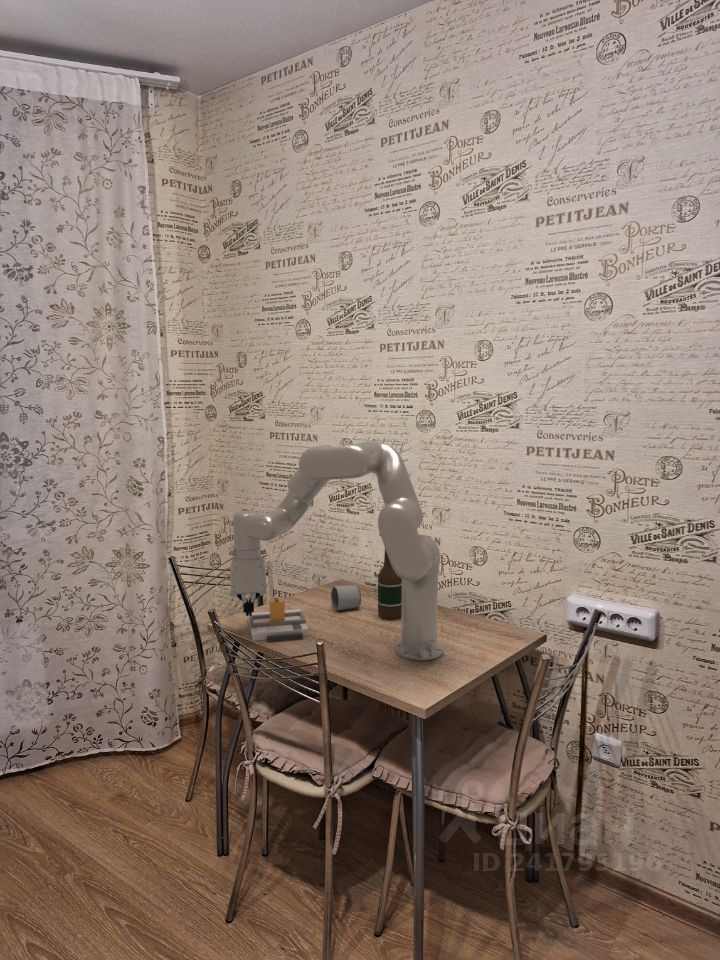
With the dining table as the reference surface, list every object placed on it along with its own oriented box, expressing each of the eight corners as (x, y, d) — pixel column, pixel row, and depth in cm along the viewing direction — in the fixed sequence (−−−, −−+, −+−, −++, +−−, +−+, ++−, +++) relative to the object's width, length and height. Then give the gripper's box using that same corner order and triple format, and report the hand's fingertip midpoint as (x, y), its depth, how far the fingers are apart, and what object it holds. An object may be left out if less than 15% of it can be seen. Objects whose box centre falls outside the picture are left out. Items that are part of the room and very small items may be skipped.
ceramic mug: (362, 610, 217) (362, 586, 216) (338, 613, 214) (338, 589, 213) (350, 601, 226) (349, 578, 226) (327, 604, 223) (326, 581, 222)
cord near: (302, 639, 192) (302, 634, 192) (267, 642, 190) (267, 637, 190) (302, 637, 194) (302, 632, 194) (266, 640, 192) (266, 635, 191)
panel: (308, 635, 195) (308, 625, 195) (252, 641, 191) (251, 630, 191) (300, 615, 212) (299, 606, 212) (248, 619, 209) (247, 610, 208)
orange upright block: (284, 621, 200) (284, 601, 199) (271, 623, 199) (270, 602, 198) (283, 617, 204) (282, 596, 203) (269, 618, 203) (269, 597, 202)
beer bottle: (401, 621, 206) (401, 543, 203) (376, 620, 207) (375, 543, 204) (404, 612, 214) (404, 538, 210) (379, 611, 215) (379, 537, 212)
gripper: (221, 558, 192) (223, 620, 194) (274, 555, 195) (275, 616, 198) (220, 551, 199) (222, 612, 202) (272, 549, 202) (273, 608, 205)
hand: (248, 614), depth 200 cm, fingers closed
